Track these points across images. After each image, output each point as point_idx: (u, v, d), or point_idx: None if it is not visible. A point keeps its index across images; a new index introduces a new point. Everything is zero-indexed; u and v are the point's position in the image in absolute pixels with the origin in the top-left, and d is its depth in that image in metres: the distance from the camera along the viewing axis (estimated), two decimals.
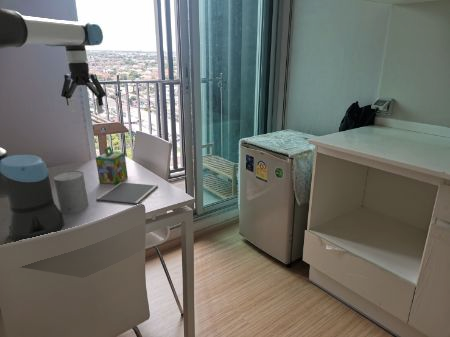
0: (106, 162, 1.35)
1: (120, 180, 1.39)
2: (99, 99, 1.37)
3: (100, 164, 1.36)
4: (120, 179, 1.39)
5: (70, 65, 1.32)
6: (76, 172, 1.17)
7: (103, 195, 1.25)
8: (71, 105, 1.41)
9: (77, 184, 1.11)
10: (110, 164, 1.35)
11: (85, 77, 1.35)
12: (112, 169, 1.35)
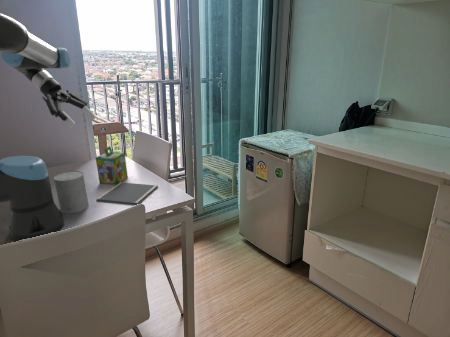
0: (106, 162, 1.35)
1: (120, 180, 1.39)
2: (86, 107, 1.43)
3: (100, 164, 1.36)
4: (120, 179, 1.39)
5: (51, 81, 1.32)
6: (76, 172, 1.17)
7: (103, 195, 1.25)
8: None
9: (77, 184, 1.11)
10: (110, 164, 1.35)
11: None
12: (112, 169, 1.35)
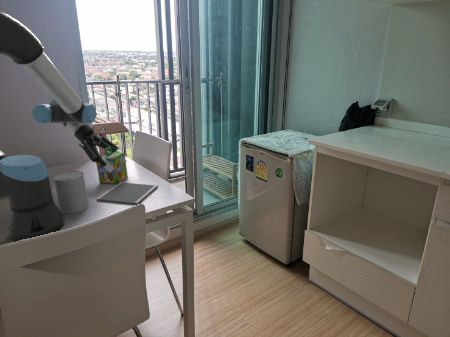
0: None
1: (120, 180, 1.39)
2: (117, 151, 1.44)
3: (100, 164, 1.36)
4: (120, 179, 1.39)
5: (85, 126, 1.35)
6: (76, 172, 1.17)
7: (103, 195, 1.25)
8: None
9: (77, 184, 1.11)
10: None
11: (96, 136, 1.40)
12: None
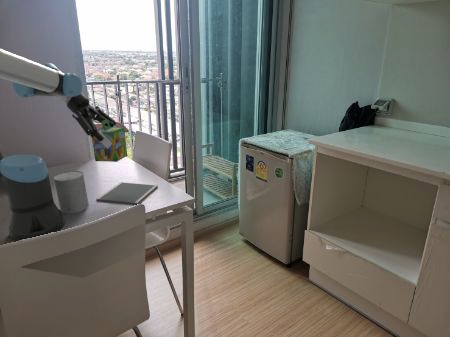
0: None
1: (119, 158, 1.22)
2: None
3: (96, 138, 1.19)
4: (119, 157, 1.22)
5: (79, 95, 1.19)
6: (76, 172, 1.17)
7: (103, 195, 1.25)
8: None
9: (77, 184, 1.11)
10: (108, 138, 1.18)
11: (92, 108, 1.24)
12: None
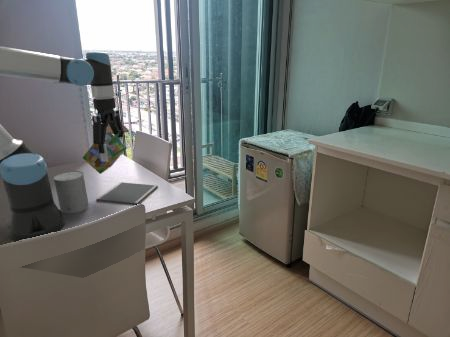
0: None
1: (104, 170, 1.24)
2: None
3: None
4: (105, 170, 1.25)
5: (111, 101, 1.15)
6: (76, 172, 1.17)
7: (103, 195, 1.25)
8: None
9: (77, 184, 1.11)
10: None
11: (113, 113, 1.21)
12: None
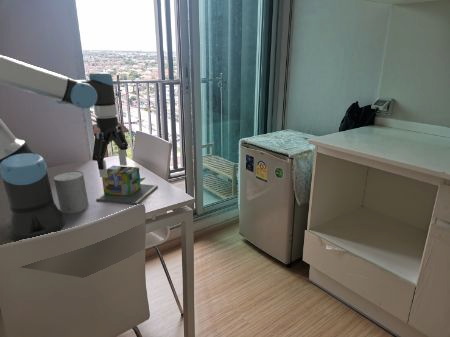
0: (125, 186, 1.22)
1: None
2: (124, 150, 1.31)
3: (122, 179, 1.21)
4: None
5: (113, 120, 1.17)
6: (76, 172, 1.17)
7: (103, 195, 1.25)
8: None
9: (77, 184, 1.11)
10: (124, 190, 1.23)
11: (116, 131, 1.23)
12: (119, 191, 1.23)
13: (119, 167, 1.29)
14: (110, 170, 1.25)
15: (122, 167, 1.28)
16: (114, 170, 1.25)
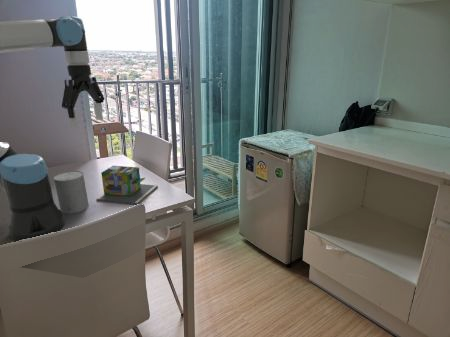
0: (125, 186, 1.22)
1: None
2: (100, 103, 1.28)
3: (122, 179, 1.21)
4: None
5: (84, 67, 1.14)
6: (76, 172, 1.17)
7: (103, 195, 1.25)
8: None
9: (77, 184, 1.11)
10: (124, 190, 1.23)
11: (89, 81, 1.21)
12: (119, 191, 1.23)
13: (119, 167, 1.29)
14: (110, 170, 1.25)
15: (122, 167, 1.28)
16: (114, 170, 1.25)
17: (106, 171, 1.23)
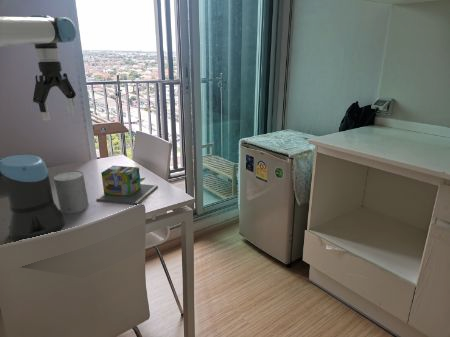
0: (125, 186, 1.22)
1: None
2: (71, 99, 1.34)
3: (122, 179, 1.21)
4: None
5: (55, 64, 1.20)
6: (76, 172, 1.17)
7: (103, 195, 1.25)
8: None
9: (77, 184, 1.11)
10: (124, 190, 1.23)
11: (60, 77, 1.26)
12: (119, 191, 1.23)
13: (119, 167, 1.29)
14: (110, 170, 1.25)
15: (122, 167, 1.28)
16: (114, 170, 1.25)
17: (106, 171, 1.23)
